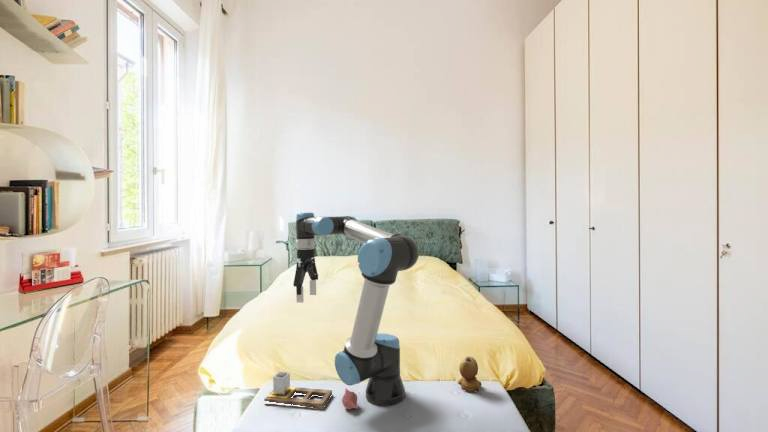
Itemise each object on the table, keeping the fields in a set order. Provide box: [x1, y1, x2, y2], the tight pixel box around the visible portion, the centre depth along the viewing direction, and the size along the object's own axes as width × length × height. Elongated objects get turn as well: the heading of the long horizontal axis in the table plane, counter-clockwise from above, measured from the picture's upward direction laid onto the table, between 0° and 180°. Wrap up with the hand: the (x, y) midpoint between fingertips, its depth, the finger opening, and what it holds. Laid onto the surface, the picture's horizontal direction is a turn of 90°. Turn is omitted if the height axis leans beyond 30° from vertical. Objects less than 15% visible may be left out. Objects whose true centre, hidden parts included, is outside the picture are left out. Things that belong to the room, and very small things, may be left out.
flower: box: [341, 388, 359, 410], centre depth 127 cm, size 8×8×6 cm
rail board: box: [263, 386, 333, 410], centre depth 133 cm, size 23×10×2 cm, turn 79°
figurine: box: [457, 356, 482, 393], centre depth 138 cm, size 10×8×15 cm
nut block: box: [272, 371, 291, 396], centre depth 135 cm, size 4×4×9 cm
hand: (306, 298), depth 149 cm, fingers open, 13 cm apart
